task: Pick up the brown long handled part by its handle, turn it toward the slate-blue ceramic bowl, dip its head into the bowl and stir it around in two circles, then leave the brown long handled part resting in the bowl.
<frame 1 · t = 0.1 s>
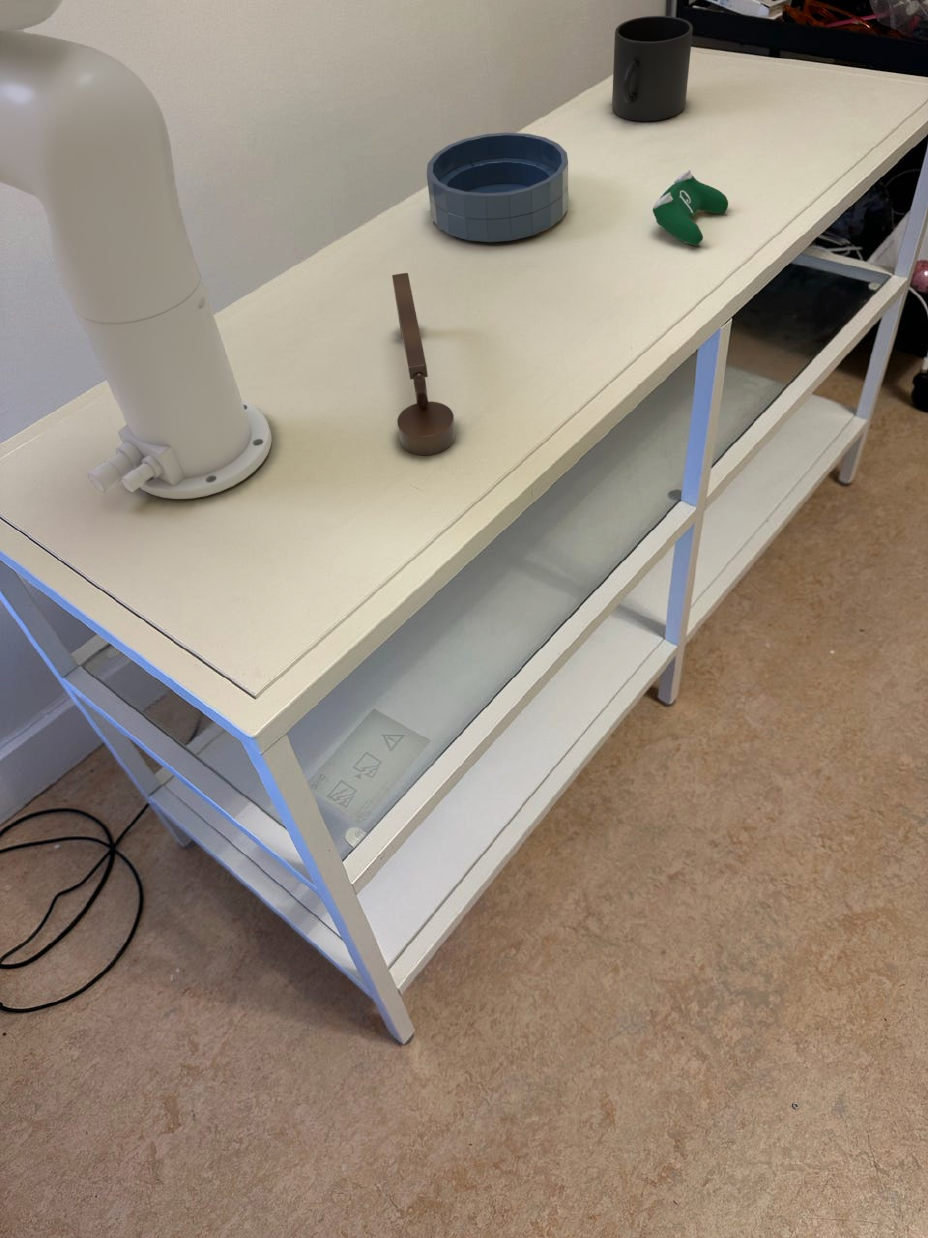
brown long handled part: (428, 437, 78), on the table
mug: (643, 112, 117), on the table
bowl: (499, 211, 103), on the table
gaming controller: (687, 226, 97), on the table
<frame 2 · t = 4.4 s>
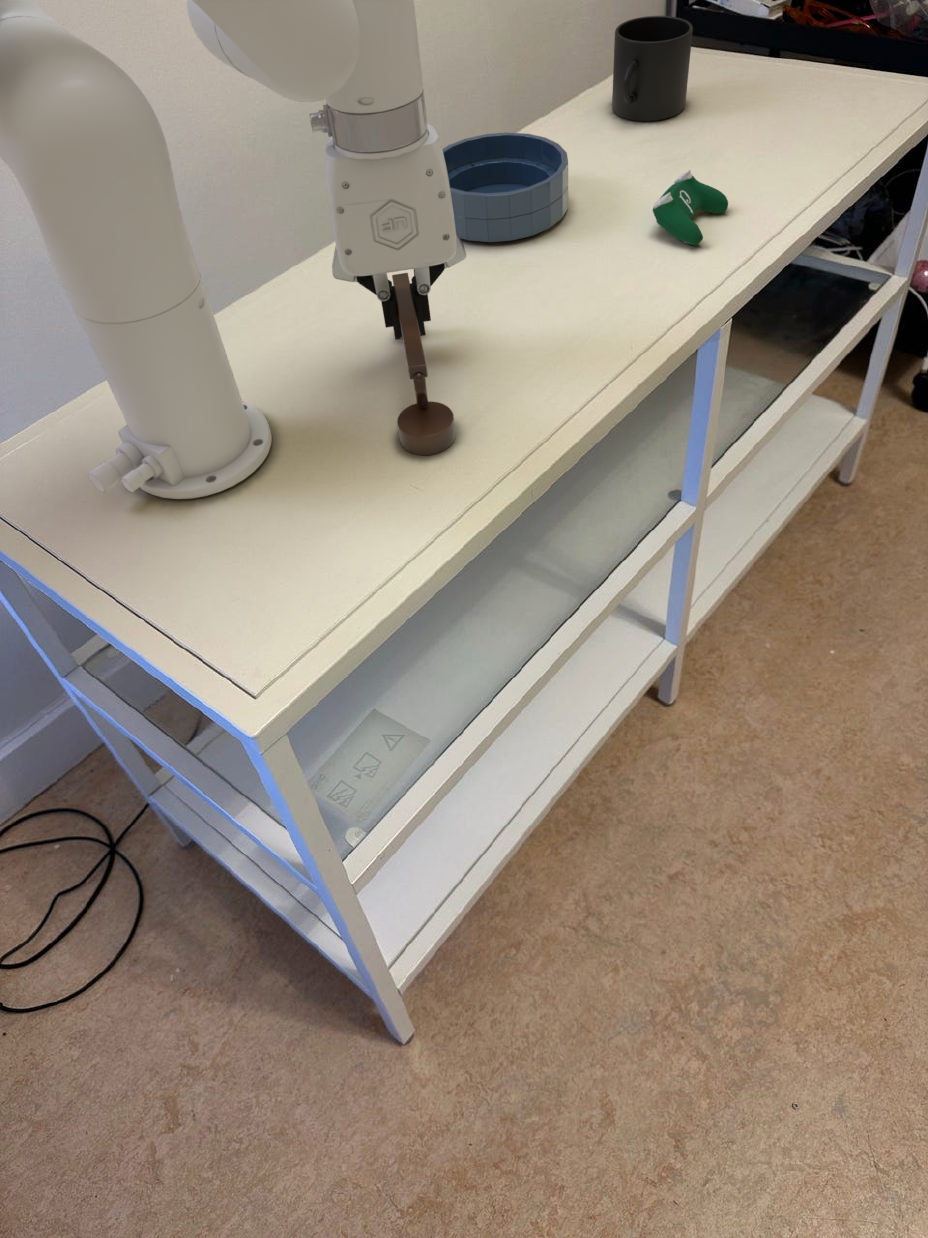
hand: (408, 328, 84), 3 cm above the table, tool pointing down, fingers closed on brown long handled part
brown long handled part: (428, 437, 78), on the table, touching gripper
everything else where it was.
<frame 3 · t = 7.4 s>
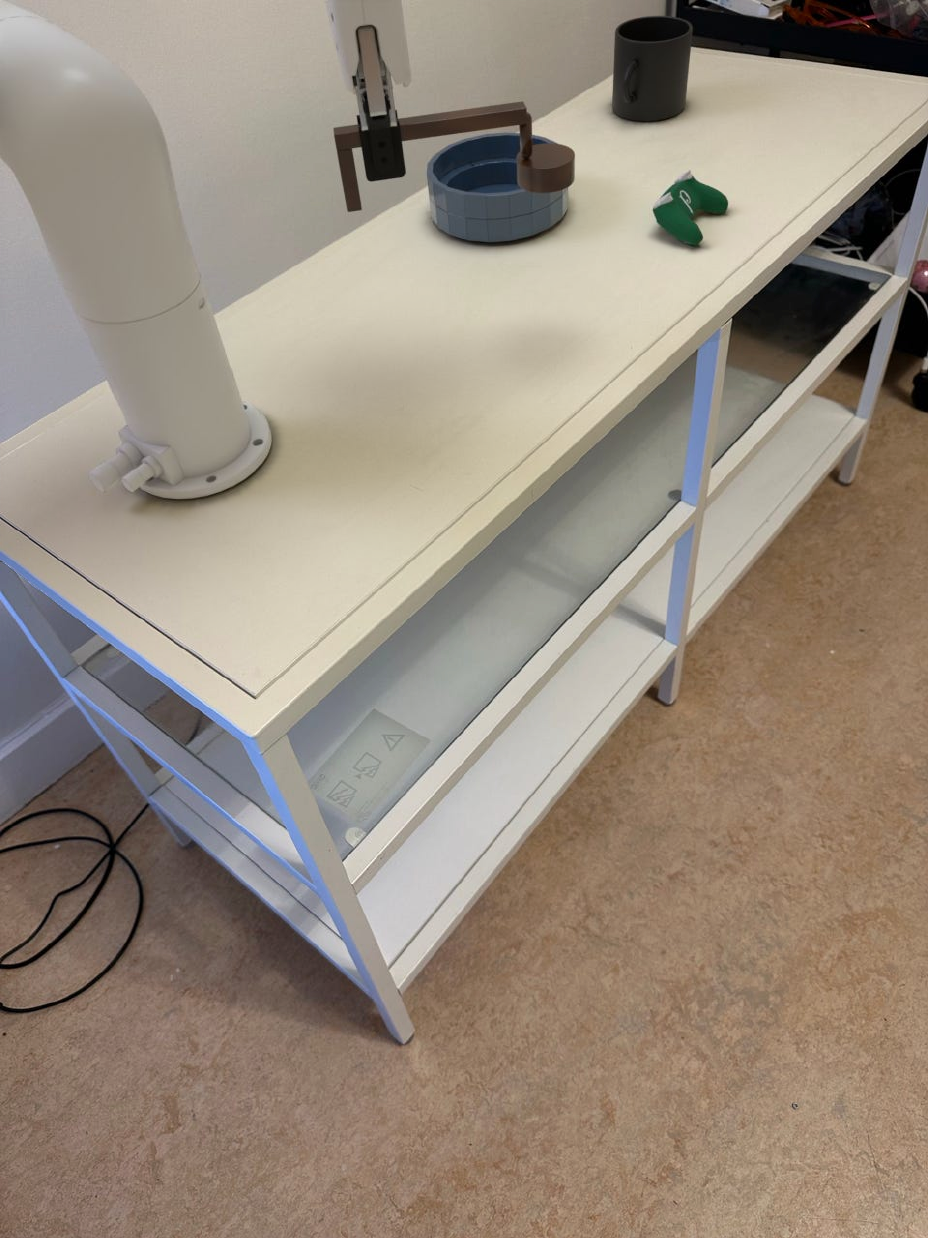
hand: (385, 169, 73), 17 cm above the table, tool pointing down, fingers closed on brown long handled part
brown long handled part: (545, 180, 75), point 14 cm above the table, touching gripper
everything else where it was.
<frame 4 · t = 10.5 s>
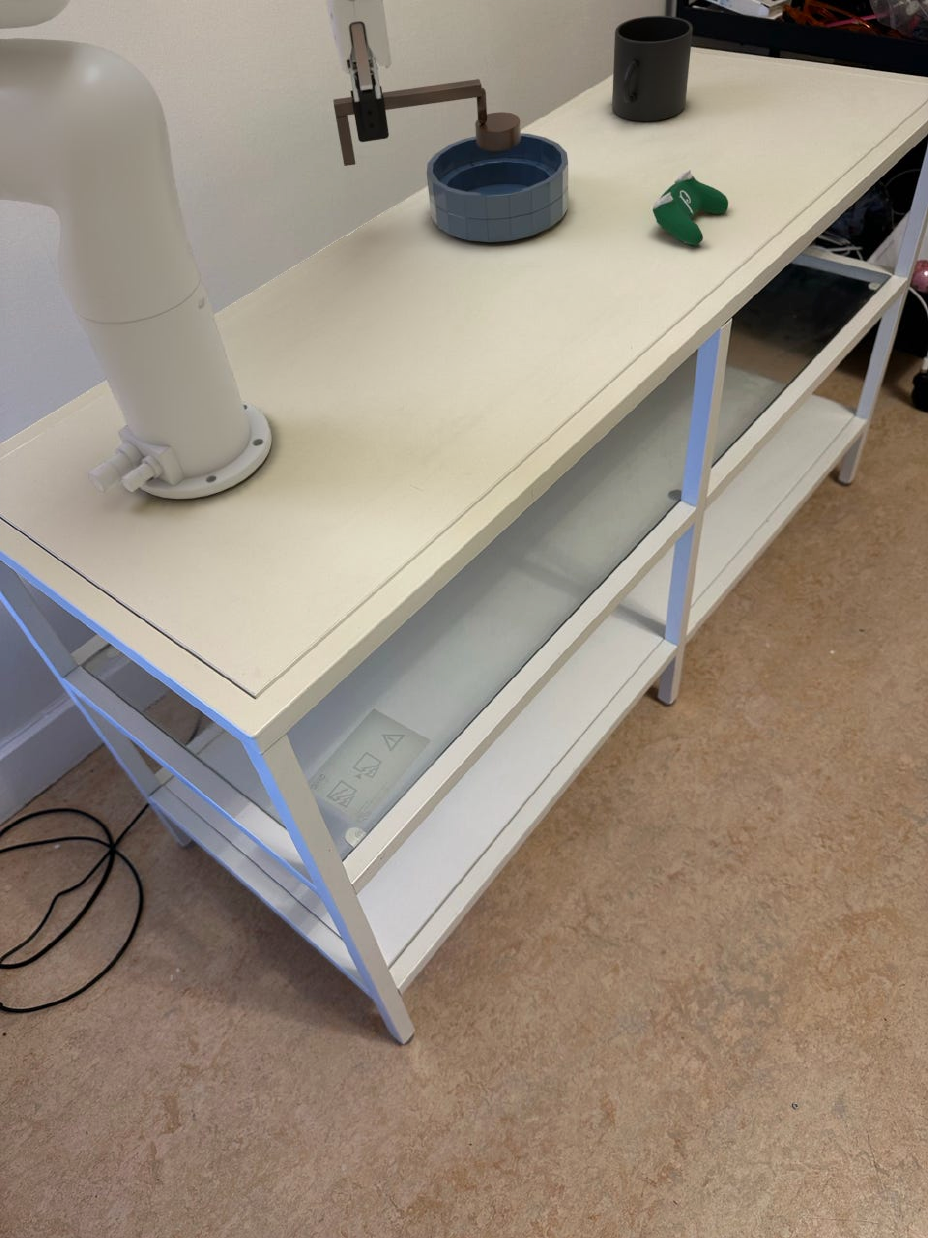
hand: (372, 133, 94), 10 cm above the table, tool pointing down, fingers closed on brown long handled part
brown long handled part: (498, 141, 97), point 8 cm above the table, touching gripper
everything else where it was.
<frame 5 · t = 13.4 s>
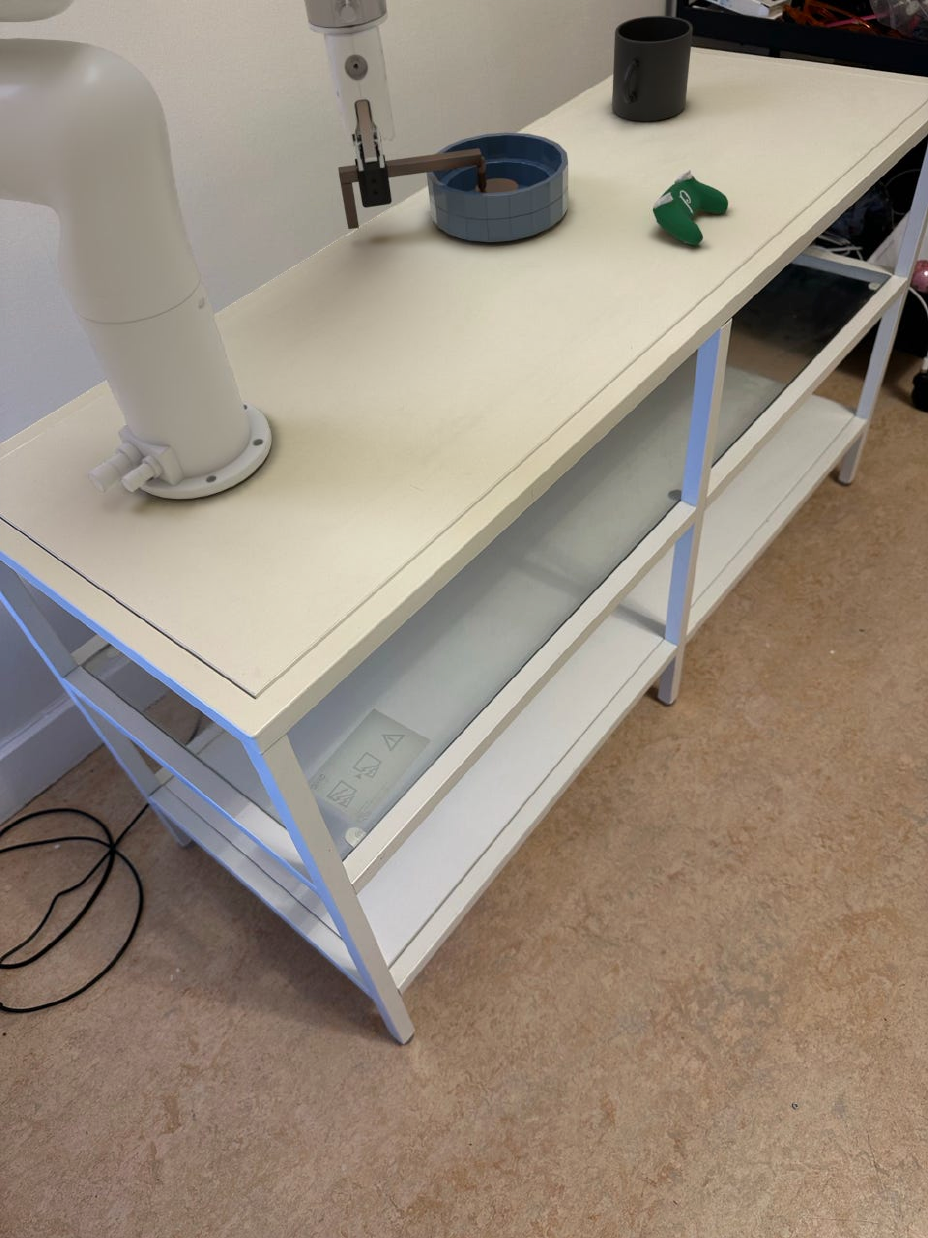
hand: (376, 198, 98), 4 cm above the table, tool pointing down, fingers closed on brown long handled part
brown long handled part: (497, 205, 100), point 2 cm above the table, touching gripper
everything else where it was.
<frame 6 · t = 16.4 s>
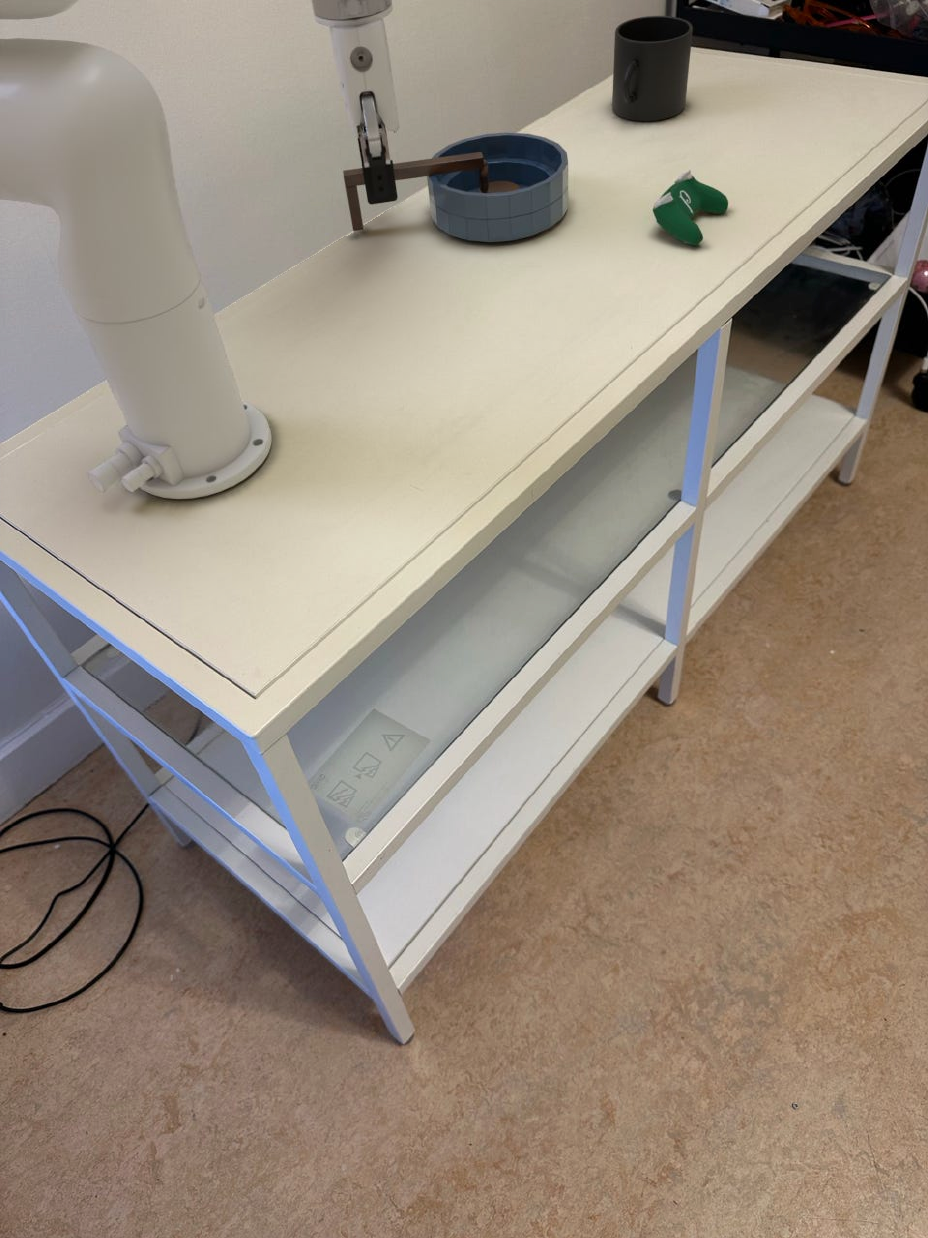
hand: (379, 183, 98), 5 cm above the table, tool pointing down, fingers open, 7 cm apart
brown long handled part: (499, 207, 102), point 1 cm above the table, touching bowl
everything else where it was.
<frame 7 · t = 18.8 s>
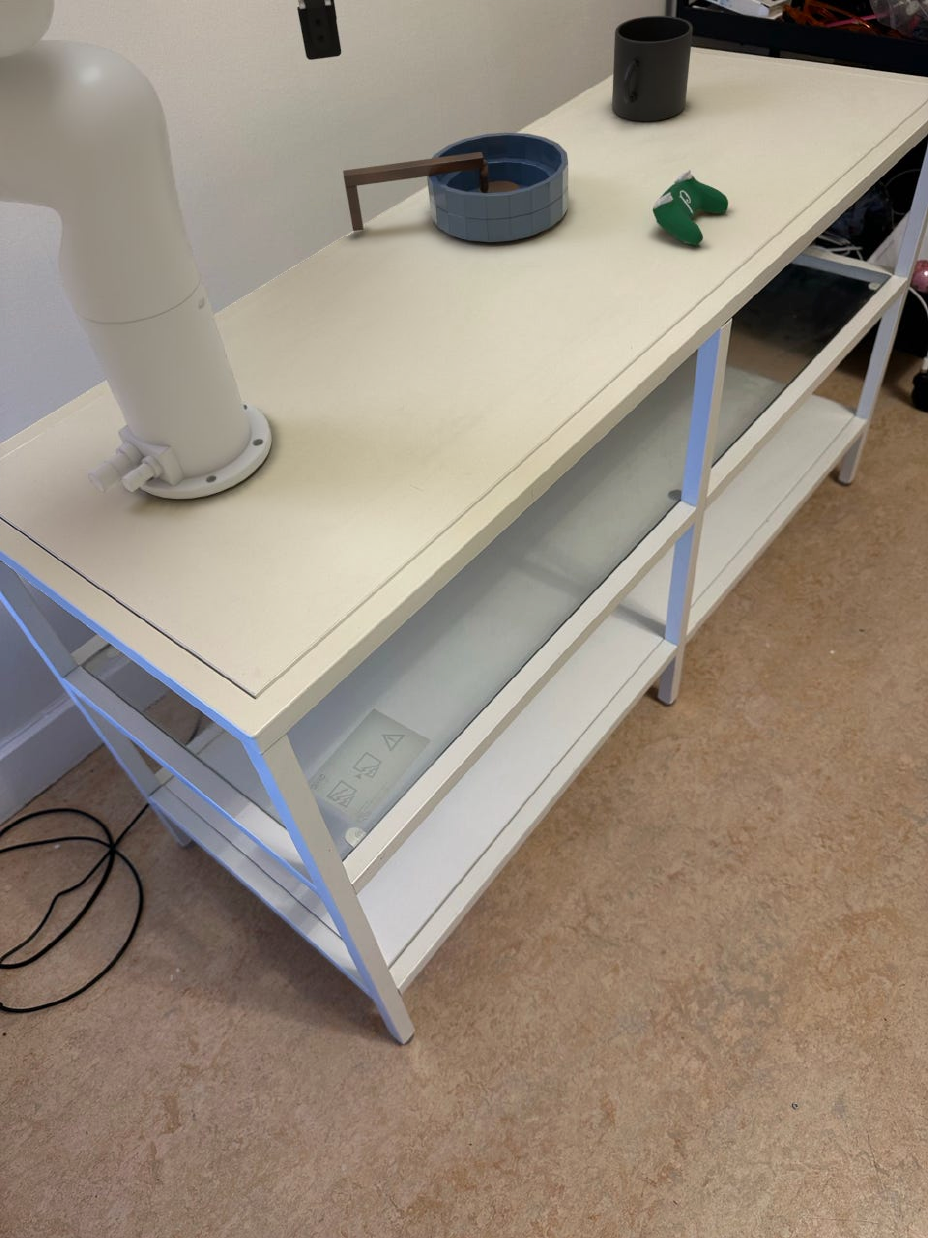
hand: (322, 39, 85), 20 cm above the table, tool pointing down, fingers open, 9 cm apart
nothing on the table moved.
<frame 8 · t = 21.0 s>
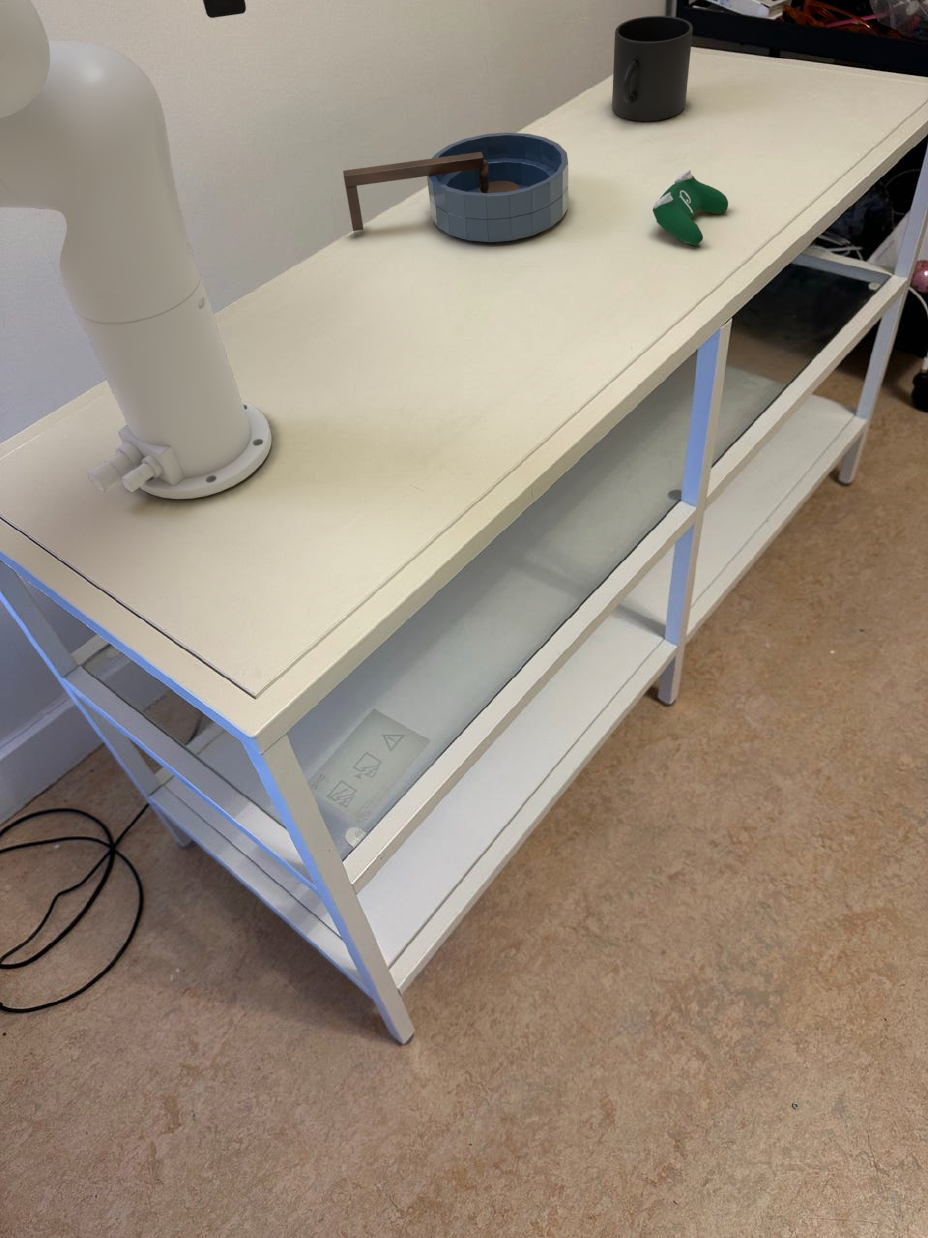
nothing on the table moved.
at the end: brown long handled part inside the target area in the bowl (0.1 cm from its centre), point 0.5 cm above the bowl's base; the gripper is holding nothing; brown long handled part moved 40.2 cm from its start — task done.
